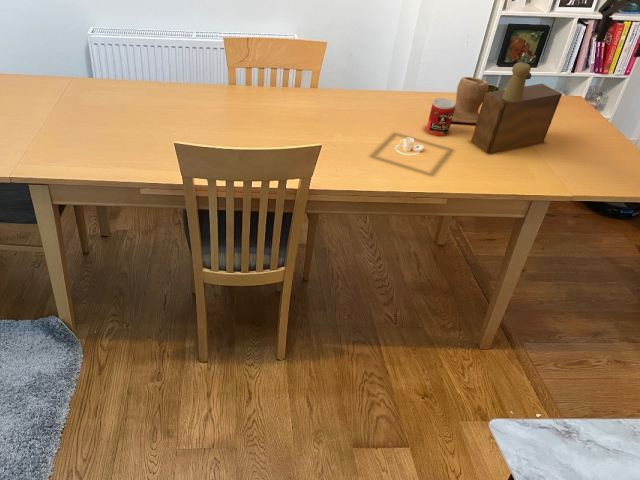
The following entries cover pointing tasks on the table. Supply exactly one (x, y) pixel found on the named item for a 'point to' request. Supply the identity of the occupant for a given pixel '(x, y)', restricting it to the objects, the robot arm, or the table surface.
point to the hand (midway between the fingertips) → (617, 48)
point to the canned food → (440, 116)
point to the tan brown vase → (469, 99)
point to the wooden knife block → (515, 119)
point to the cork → (517, 82)
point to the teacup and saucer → (410, 146)
